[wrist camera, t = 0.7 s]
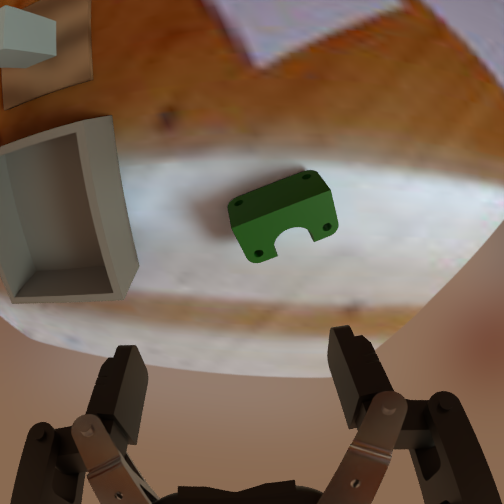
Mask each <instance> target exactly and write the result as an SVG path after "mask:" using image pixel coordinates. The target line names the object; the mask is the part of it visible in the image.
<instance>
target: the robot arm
mask: <svg viewBox="0 0 504 504" xmlns="http://www.w3.org/2000/svg"><path fill="white" fill-rule="evenodd" d="M327 356H328V364H329V368H330V371H331V374H332V377H333V380H334V384H335V386H336V389H337V393H338V396H339V399H340V402H341V405H342V409H343V412H344V415H345V418H346V421H347V425H348V428H349V429H353V428H357V430H358V432H357V434H356V436H355V438H354V440H353V442H352V444H351V445H350V447H349V448H348V450H347V452H346V454H345V456H344V458H343V460H342V462H341V463H340V465H339V467H338V469H337V471H336V472H335V474H334V476H333V478H332V479H331V481H330V483H329V485H328V486H327V488H326V490H325V491H324V493H322V492H320V491H318V490H315V489H312V488H309V487H304V486H296V485H295V480H290V481H282V482H275V483H265V484H262V485H259V486H256V487H253V488H249V489H246V490H243V491H239V492H230V491H225V490H219V489H214V488H210V487H188V486H178V493H173V494H170V495H167V496H165V497H163V498H161V499H160V498H159V497H158V495H157V494H156V493H155V492H154V491H153V489H152V488H151V487H150V486H149V484H148V483H147V482H146V480H145V479H144V477H143V476H142V475H141V473H140V471H139V470H138V469H137V467H136V466H135V464H134V462H133V461H132V459H131V458H130V456H129V455H128V453H127V452H126V451H127V445H128V444H130V445H136V444H137V438H138V433H139V428H140V422H141V416H142V410H143V406H144V400H145V395H146V390H147V385H148V372H147V368H146V366H145V364H144V362H143V359H142V357H141V355H140V352H139V350H138V348H137V346H136V345H120V346H118V347H117V349H116V352H115V355H114V358H108V359H107V360H106V361H105V362H104V364H103V365H102V366H101V369H100V372H99V375H98V378H97V380H96V383H95V384H96V385H95V386H94V389H93V392H92V395H91V399H90V402H89V405H88V408H87V411H86V414H85V415H82V416H80V417H78V418H77V419H76V420H75V421H74V423H73V425H72V426H70V427H64V428H58V429H54V428H53V427H52V426H51V425H50V424H49V423H46V422H40V423H37V424H35V425H34V426H33V427H32V428H31V429H30V430H29V433H28V435H27V439H26V442H25V445H24V449H23V452H22V456H21V460H20V464H19V467H18V472H17V476H16V480H15V484H14V489H13V493H12V498H11V503H10V504H81V502H82V494H83V486H84V479H85V472H89V474H88V475H87V479H88V481H89V483H90V485H91V487H92V489H93V491H94V493H95V495H96V496H97V498H98V500H99V502H100V504H371V503H372V501H373V499H374V497H375V495H376V492H377V490H378V488H379V486H380V484H381V482H382V479H383V477H384V475H385V473H386V470H387V468H388V466H389V463H390V460H391V457H392V456H391V454H392V451H393V449H409V451H410V454H411V458H412V461H413V464H414V467H415V471H416V474H417V477H418V481H419V484H420V488H421V491H422V495H423V499H424V502H425V504H502V502H501V499H500V496H499V493H498V490H497V487H496V485H495V482H494V479H493V476H492V474H491V471H490V469H489V466H488V464H487V461H486V459H485V456H484V454H483V451H482V449H481V446H480V444H479V442H478V440H477V437H476V435H475V433H474V431H473V428H472V426H471V424H470V422H469V419H468V417H467V415H466V413H465V411H464V409H463V407H462V405H461V403H460V401H459V399H458V398H457V397H456V396H455V395H454V394H452V393H450V392H446V391H441V392H437V393H435V394H434V395H433V396H431V398H430V400H408V399H405V398H404V397H403V396H402V395H401V394H399V393H397V392H395V391H394V390H393V388H392V386H391V384H390V382H389V379H388V377H387V375H386V373H385V371H384V369H383V367H382V365H381V362H379V358H378V356H377V354H376V353H375V350H374V348H373V346H372V344H371V342H369V341H368V340H367V339H366V338H365V337H364V336H363V335H360V336H354V334H353V332H352V330H351V328H350V326H349V325H345V326H339V327H332V328H331V329H330V334H329V344H328V354H327Z"/></svg>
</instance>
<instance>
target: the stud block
mask: <svg viewBox="0 0 504 504" xmlns="http://www.w3.org/2000/svg"><path fill="white" fill-rule="evenodd" d="M22 10H24V11H27V12H30V13H34V14H37V15H40V16H43V17H46V18H48V19H51V20H54V21H56V56H55V57H52V58H50V59H47V60H44V61H42V62H40V63H37V64H35V65H32V66H30V67H28V68H1V71H2V92H3V105H4V110H9V109H11V108H13V107H16V106H18V105H20V104H23V103H25V102H28V101H30V100H33V99H36V98H38V97H41V96H44V95H46V94H49V93H52V92H55V91H58V90H61V89H64V88H67V87H70V86H73V85H77V84H80V83H83V82H87V81H90V80H93V69H92V50H91V0H40V1H38V2H36V3H34V4H32V5H30V6H28V7H26V8H24V9H22Z"/></svg>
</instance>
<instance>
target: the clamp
mask: <svg viewBox="0 0 504 504" xmlns="http://www.w3.org/2000/svg"><path fill="white" fill-rule="evenodd" d="M228 213H229V218H230V224H231V229H232V231H233V232H234V234H235V236H236V238H237V240H238V242H239V244H240V246H241V248H242V250H243V252H244V254H245V256H246V258H247V259H248V260H249V261H250V262H252V263H261V262H263V261H266V260H269V259H271V258H274V257H276V256H278V255H277V252H276V249H275V246H274V243H275V240H276V238H277V237H278V236H279V235H280V234H281V233H282V232H283V231H285V230H287V229H290V228H293V227H303V228H306V229H308V231H309V233H310V235H311V237H312V239H313V241H314V242H315V241H318V240H321V239H323V238H326V237H328V236H331V235H332V234H334V233H335V232H336V230H337V229H338V219H337V215H336V210H335V206H334V202H333V198H332V193H331V190H330V188H329V187H328V186H327V184H326V183H325V182H324V180H323V179H322V178H321V176H320V175H319V174H318V173H317V172H316V171H314V170H307V171H303V172H301V173H298V174H295V175H293V176H290V177H287V178H285V179H282V180H279V181H277V182H274V183H272V184H269V185H267V186H264V187H261V188H259V189H256V190H254V191H251V192H249V193H246V194H244V195H241V196H239V197H236V198H234V199H233V200H232V201H230V202H229V204H228Z"/></svg>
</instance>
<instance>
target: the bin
mask: <svg viewBox="0 0 504 504" xmlns="http://www.w3.org/2000/svg"><path fill="white" fill-rule="evenodd" d="M138 268H139V262H138V258H137V254H136V249H135V245H134V241H133V236H132V232H131V227H130V223H129V218H128V213H127V208H126V203H125V198H124V192H123V187H122V181H121V175H120V169H119V163H118V157H117V150H116V143H115V136H114V128H113V120H112V115H111V116H104V117H98V118H92V119H87V120H82V121H78V122H75V123H71V124H67V125H64V126H60V127H57V128H54V129H50V130H47V131H44V132H41V133H38V134H35V135H32V136H29V137H26V138H23V139H20V140H17V141H14V142H12V143H9V144H6V145H4V146H1V147H0V276H1V279H2V281H3V283H4V286H5V288H6V290H7V293H8V295H9V297H10V299H11V302H12V304H24V303H65V302H92V301H115V300H124V298H125V296H126V294H127V292H128V290H129V287H130V285H131V283H132V281H133V279H134V276H135V274H136V272H137V270H138Z"/></svg>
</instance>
